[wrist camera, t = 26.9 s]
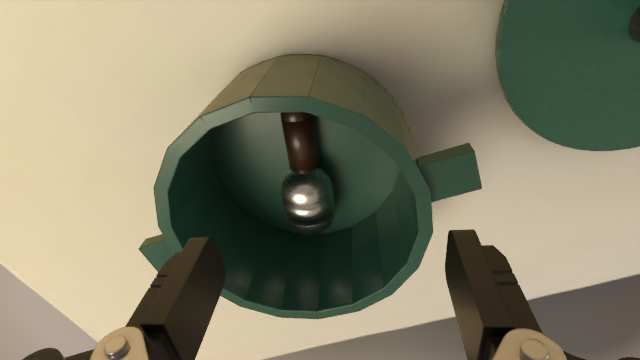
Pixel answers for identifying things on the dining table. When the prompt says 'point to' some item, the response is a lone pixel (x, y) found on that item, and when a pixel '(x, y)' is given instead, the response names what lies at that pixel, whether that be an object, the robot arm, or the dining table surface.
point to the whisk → (305, 177)
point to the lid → (573, 70)
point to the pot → (272, 166)
